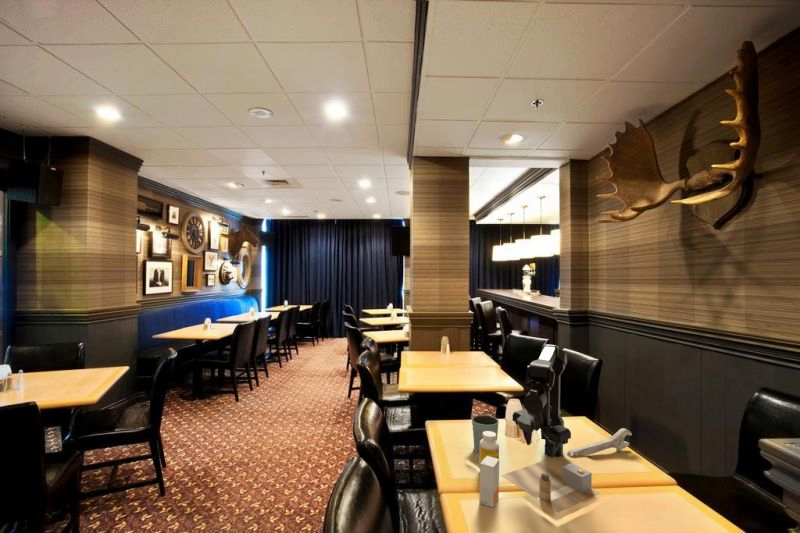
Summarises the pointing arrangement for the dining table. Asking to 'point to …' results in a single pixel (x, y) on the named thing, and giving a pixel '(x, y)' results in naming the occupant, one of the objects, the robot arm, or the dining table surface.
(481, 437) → the grey green cup
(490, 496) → the skincare box
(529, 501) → the dining table surface
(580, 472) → the block
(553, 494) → the board
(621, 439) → the wrench
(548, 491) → the tan small bottle
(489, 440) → the supplement bottle
